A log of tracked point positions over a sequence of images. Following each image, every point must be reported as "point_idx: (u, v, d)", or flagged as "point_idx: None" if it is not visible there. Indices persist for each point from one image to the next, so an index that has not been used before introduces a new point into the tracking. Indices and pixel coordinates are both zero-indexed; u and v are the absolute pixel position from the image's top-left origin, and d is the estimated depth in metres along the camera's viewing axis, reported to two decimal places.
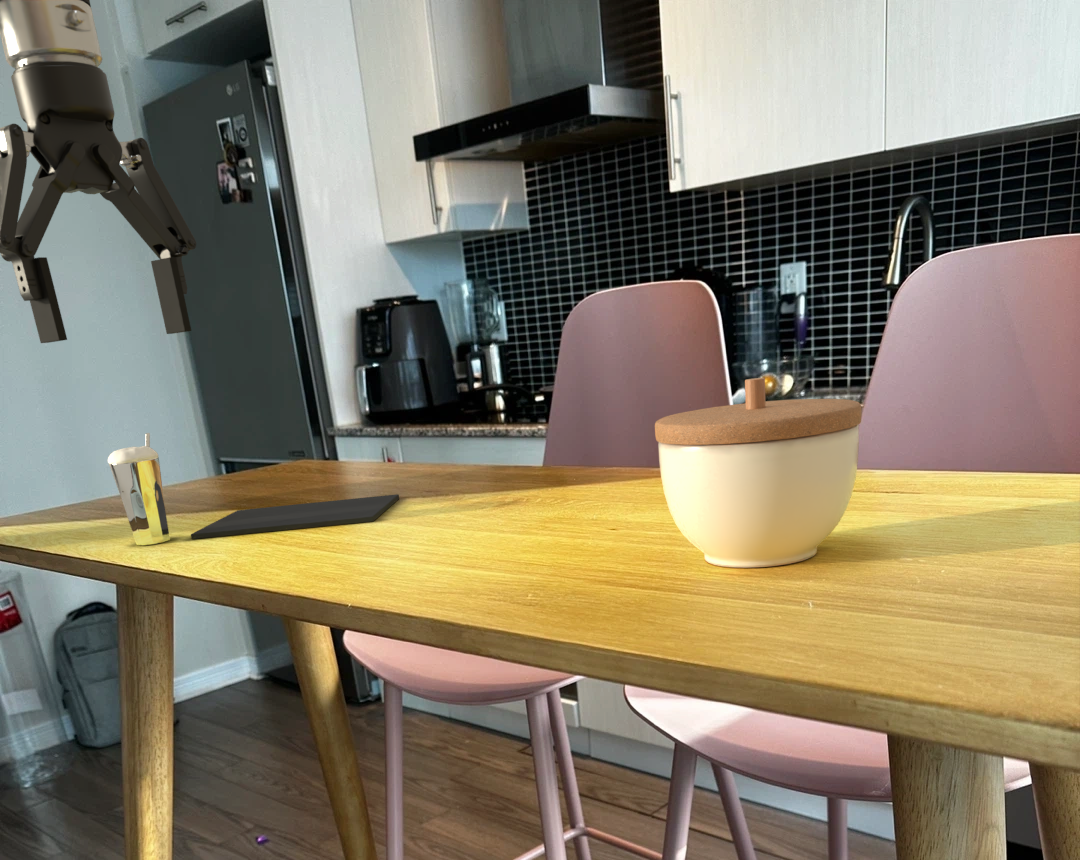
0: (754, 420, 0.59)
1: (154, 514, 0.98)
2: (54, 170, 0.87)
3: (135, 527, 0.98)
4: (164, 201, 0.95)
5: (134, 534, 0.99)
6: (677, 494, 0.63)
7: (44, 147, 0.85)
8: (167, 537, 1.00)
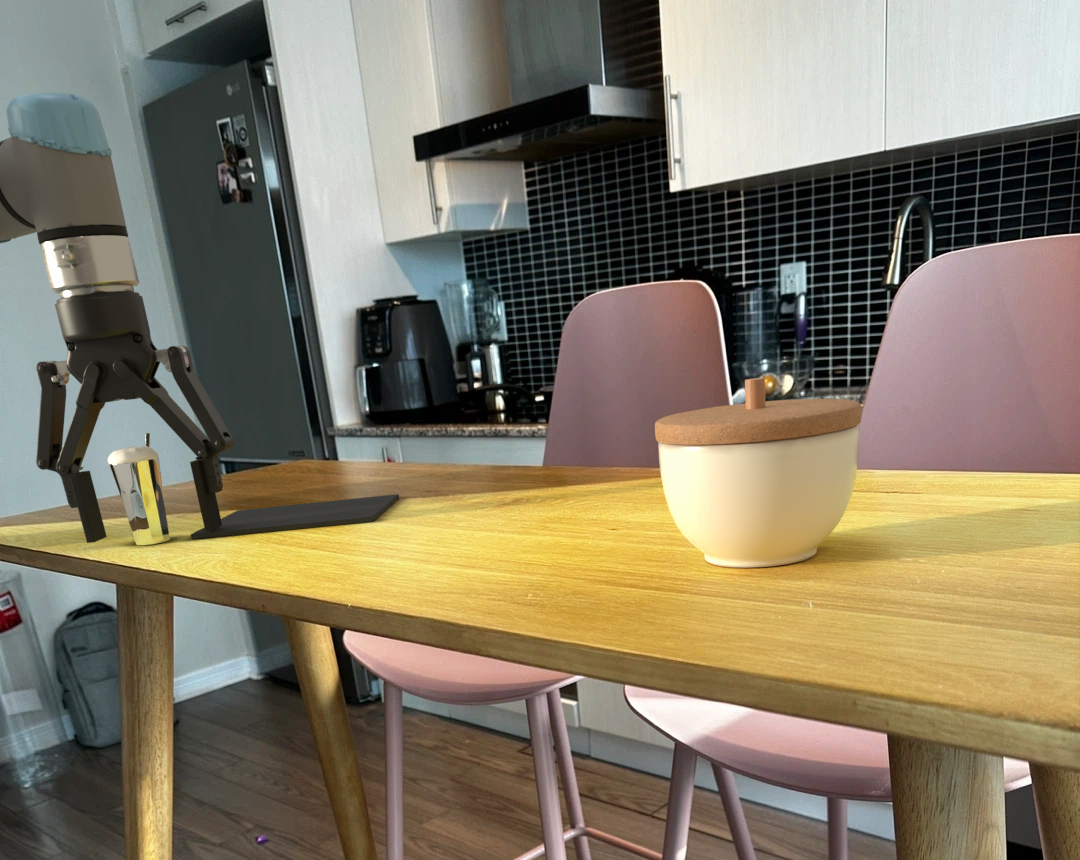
0: (754, 420, 0.59)
1: (154, 514, 0.98)
2: None
3: (135, 527, 0.98)
4: (192, 405, 0.95)
5: (134, 534, 0.99)
6: (677, 494, 0.63)
7: (71, 372, 0.94)
8: (167, 537, 1.00)
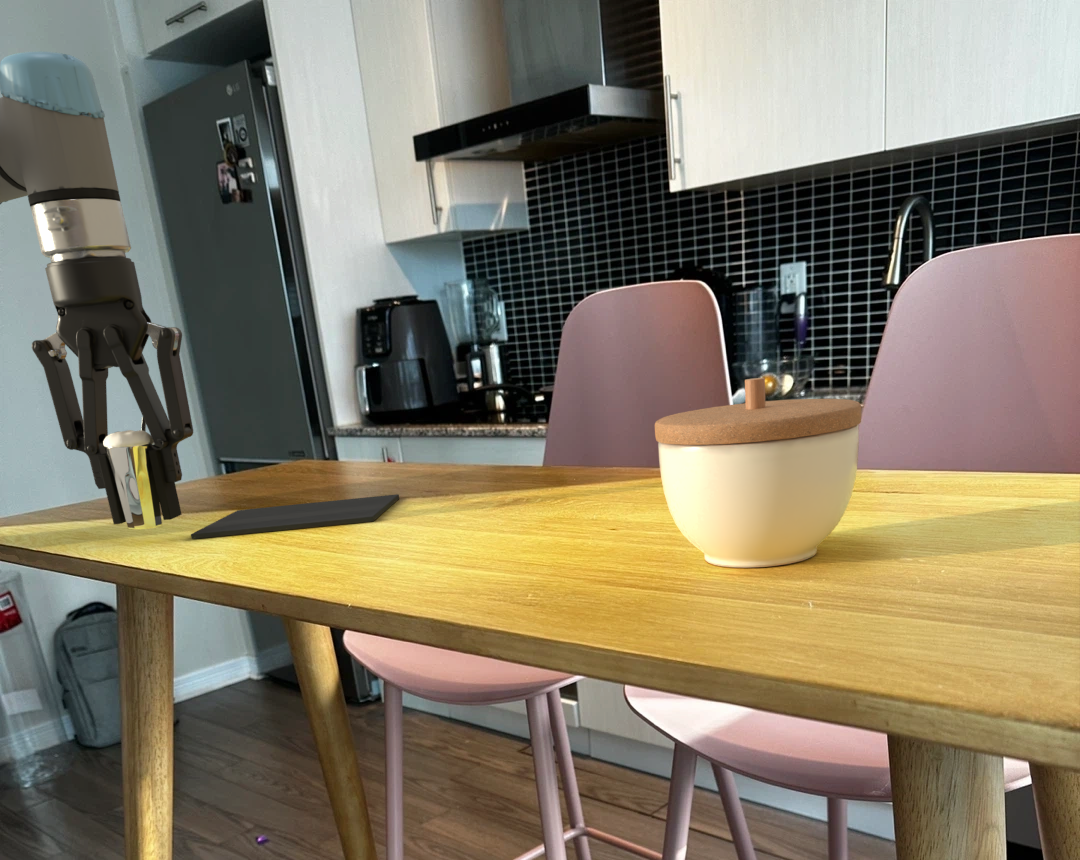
0: (754, 420, 0.59)
1: (148, 499, 0.98)
2: None
3: (128, 511, 0.98)
4: (165, 388, 0.94)
5: (126, 518, 0.99)
6: (677, 494, 0.63)
7: (64, 340, 0.93)
8: (159, 522, 1.00)
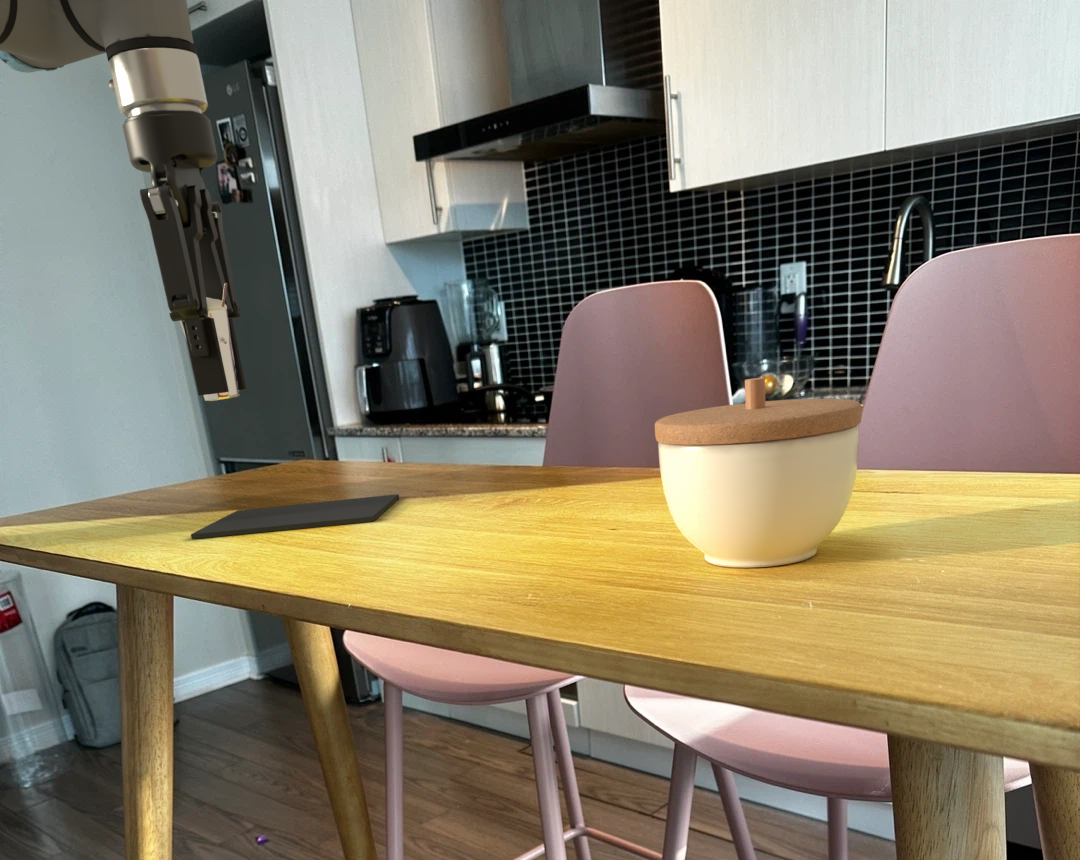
0: (754, 420, 0.59)
1: None
2: None
3: None
4: None
5: None
6: (677, 494, 0.63)
7: None
8: (214, 396, 0.98)
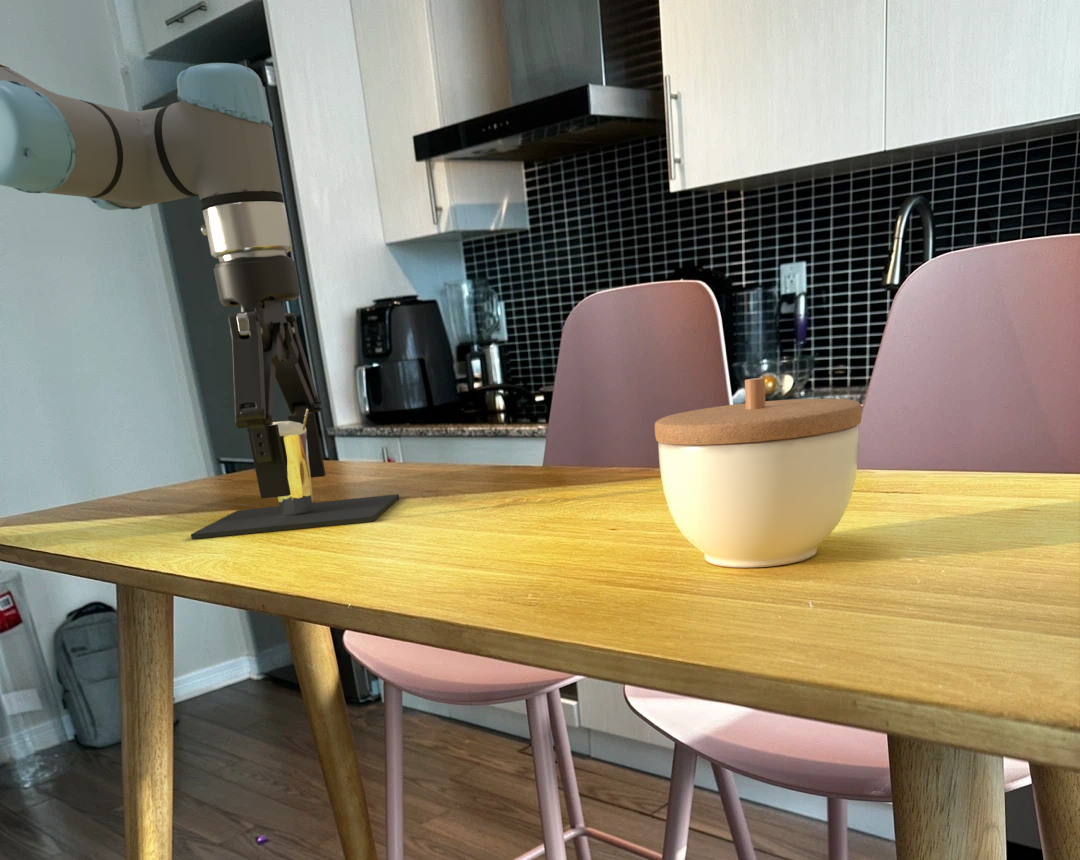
0: (754, 420, 0.59)
1: None
2: None
3: None
4: None
5: None
6: (677, 494, 0.63)
7: None
8: (291, 511, 1.04)
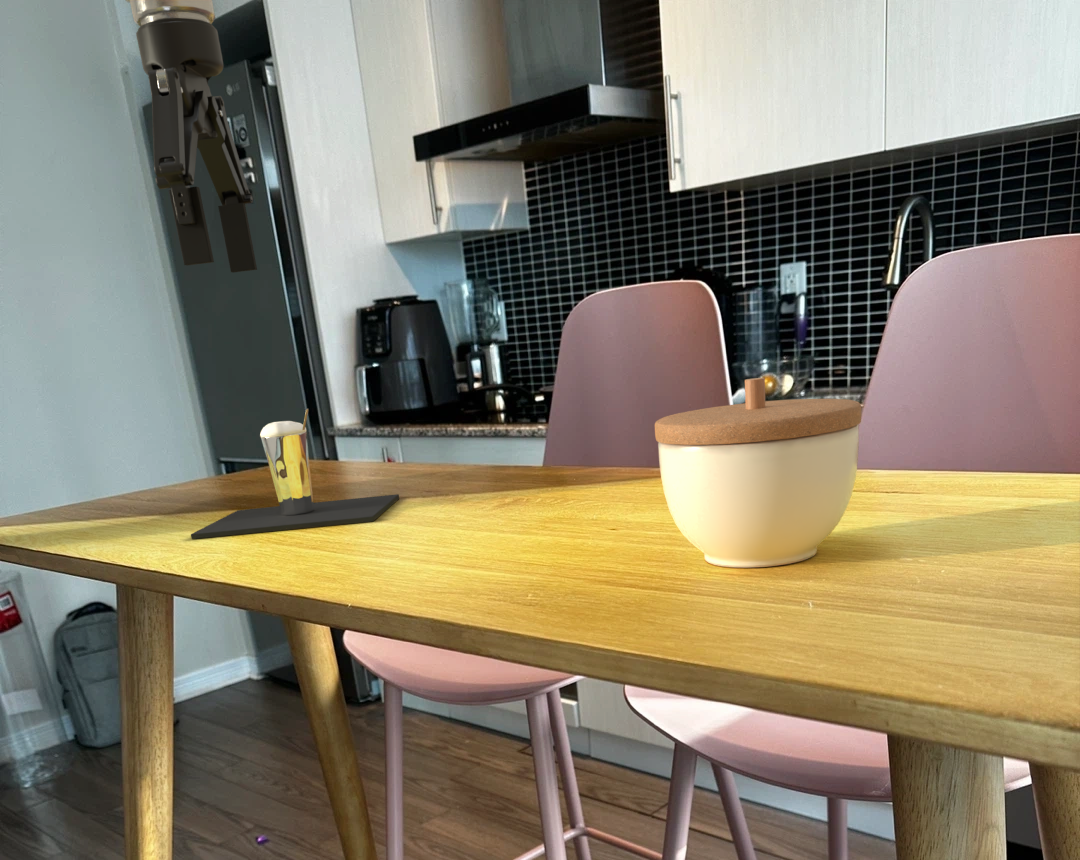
0: (754, 420, 0.59)
1: (278, 488, 1.03)
2: None
3: None
4: None
5: None
6: (677, 494, 0.63)
7: None
8: (291, 511, 1.04)
